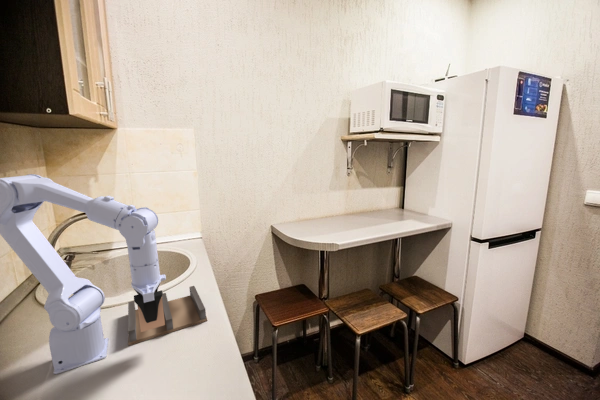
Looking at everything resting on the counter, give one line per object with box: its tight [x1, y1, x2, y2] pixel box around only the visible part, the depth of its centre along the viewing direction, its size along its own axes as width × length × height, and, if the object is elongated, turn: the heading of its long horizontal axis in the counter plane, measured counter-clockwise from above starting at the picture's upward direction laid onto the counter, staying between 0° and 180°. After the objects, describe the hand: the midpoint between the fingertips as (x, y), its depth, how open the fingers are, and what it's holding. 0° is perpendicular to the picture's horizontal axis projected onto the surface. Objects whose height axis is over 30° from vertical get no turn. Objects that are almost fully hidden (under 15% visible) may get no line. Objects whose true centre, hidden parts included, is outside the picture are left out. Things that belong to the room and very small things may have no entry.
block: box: [137, 297, 165, 332], centre depth 66 cm, size 5×4×7 cm
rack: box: [127, 285, 208, 346], centre depth 80 cm, size 19×16×4 cm
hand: (151, 316), depth 66 cm, fingers closed on block, 4 cm apart
